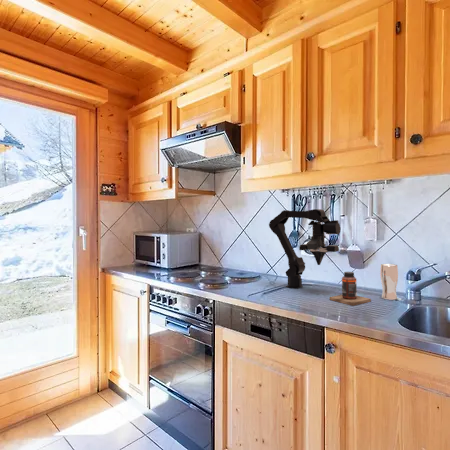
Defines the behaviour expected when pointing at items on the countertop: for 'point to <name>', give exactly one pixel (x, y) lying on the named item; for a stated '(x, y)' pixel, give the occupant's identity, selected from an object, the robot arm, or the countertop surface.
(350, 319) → the countertop surface
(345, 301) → the walnut board
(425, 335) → the countertop surface
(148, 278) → the countertop surface
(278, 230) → the robot arm
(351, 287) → the supplement bottle
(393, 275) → the beer glass
